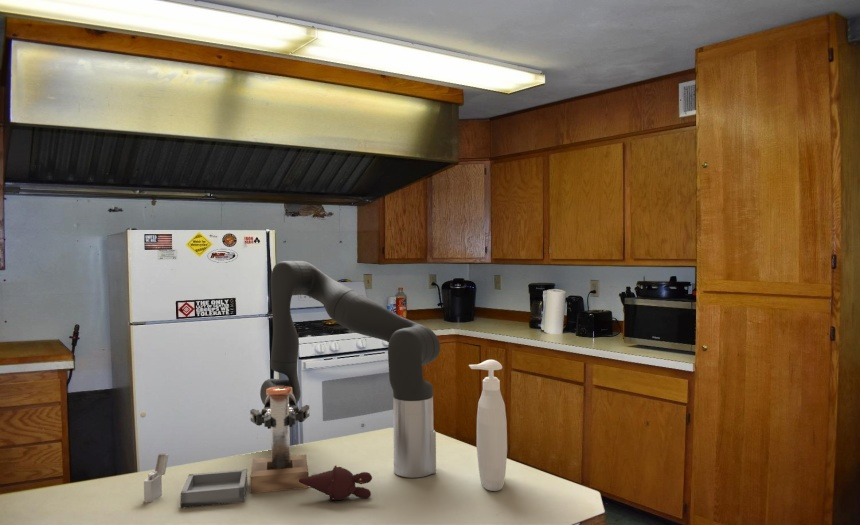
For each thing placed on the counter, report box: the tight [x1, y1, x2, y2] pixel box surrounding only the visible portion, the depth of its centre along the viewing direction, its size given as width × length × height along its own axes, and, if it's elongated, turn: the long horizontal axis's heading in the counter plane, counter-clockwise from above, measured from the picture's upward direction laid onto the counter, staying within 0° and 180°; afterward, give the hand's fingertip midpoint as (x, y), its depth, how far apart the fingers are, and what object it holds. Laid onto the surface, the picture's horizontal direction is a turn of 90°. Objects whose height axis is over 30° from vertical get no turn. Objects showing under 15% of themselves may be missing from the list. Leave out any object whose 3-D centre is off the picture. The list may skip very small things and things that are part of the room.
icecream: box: [299, 465, 373, 502], centre depth 124 cm, size 7×7×15 cm
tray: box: [180, 468, 248, 509], centre depth 127 cm, size 12×11×3 cm
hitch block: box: [249, 453, 310, 494], centre depth 135 cm, size 12×12×4 cm
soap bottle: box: [468, 359, 508, 492], centre depth 131 cm, size 14×8×27 cm, turn 0°
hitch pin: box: [266, 386, 292, 468], centre depth 134 cm, size 6×6×17 cm
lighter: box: [143, 453, 169, 503], centre depth 127 cm, size 7×2×8 cm, turn 176°
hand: (280, 423), depth 132 cm, fingers closed on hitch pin, 4 cm apart
